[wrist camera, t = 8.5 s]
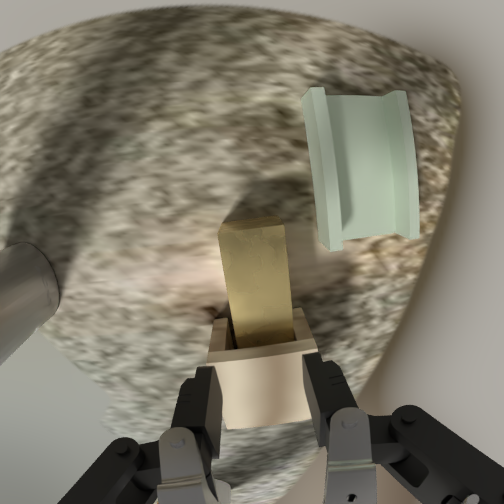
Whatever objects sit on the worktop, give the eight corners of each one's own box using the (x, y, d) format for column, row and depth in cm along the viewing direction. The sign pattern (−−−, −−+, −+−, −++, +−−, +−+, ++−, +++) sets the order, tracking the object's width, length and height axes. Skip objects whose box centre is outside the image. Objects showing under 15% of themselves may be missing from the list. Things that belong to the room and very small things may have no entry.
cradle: (318, 240, 24) (330, 251, 20) (300, 99, 20) (310, 87, 17) (399, 229, 24) (419, 238, 20) (386, 99, 20) (405, 90, 17)
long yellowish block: (250, 387, 28) (252, 417, 24) (222, 221, 23) (217, 233, 19) (292, 382, 28) (298, 411, 24) (276, 214, 23) (284, 224, 19)
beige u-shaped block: (229, 382, 28) (227, 429, 21) (214, 319, 25) (206, 363, 19) (305, 372, 28) (318, 417, 21) (301, 307, 25) (317, 348, 19)
